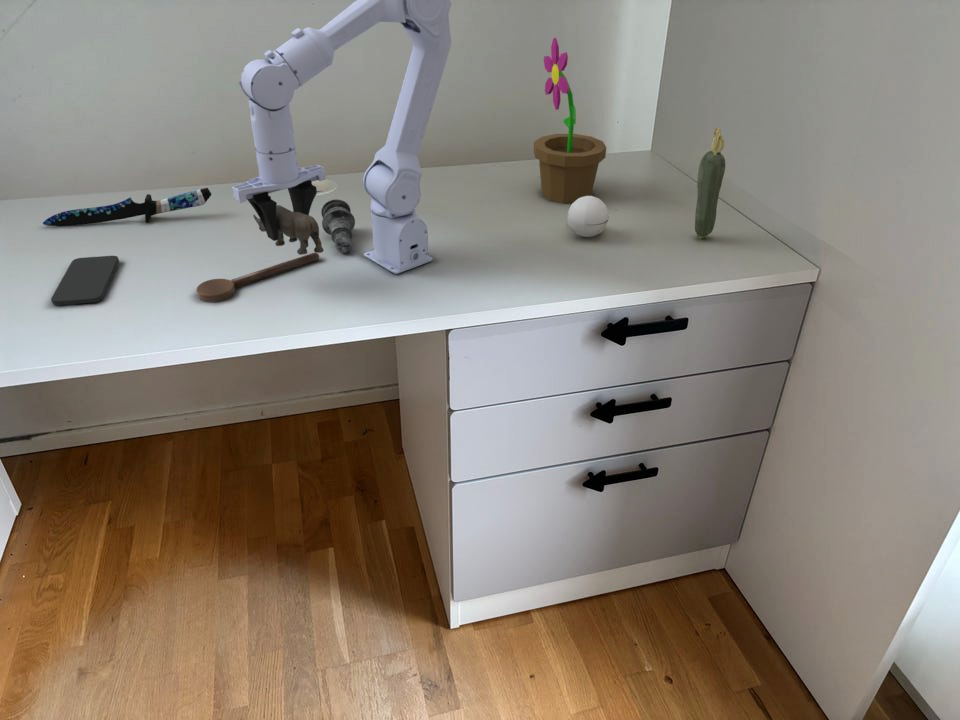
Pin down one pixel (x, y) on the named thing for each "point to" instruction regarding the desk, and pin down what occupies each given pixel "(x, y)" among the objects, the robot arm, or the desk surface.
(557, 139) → the flowerpot
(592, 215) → the white ball
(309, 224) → the rhino figurine
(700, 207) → the vegetable
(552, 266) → the desk surface
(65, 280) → the phone
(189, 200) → the knife
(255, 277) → the brown long-handled part
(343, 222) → the grey weathered turned ornament
